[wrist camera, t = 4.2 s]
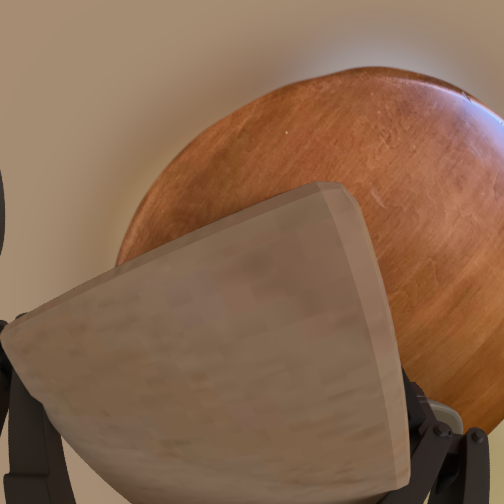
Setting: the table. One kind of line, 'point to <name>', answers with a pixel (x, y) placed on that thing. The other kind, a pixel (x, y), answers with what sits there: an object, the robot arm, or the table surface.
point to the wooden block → (231, 362)
